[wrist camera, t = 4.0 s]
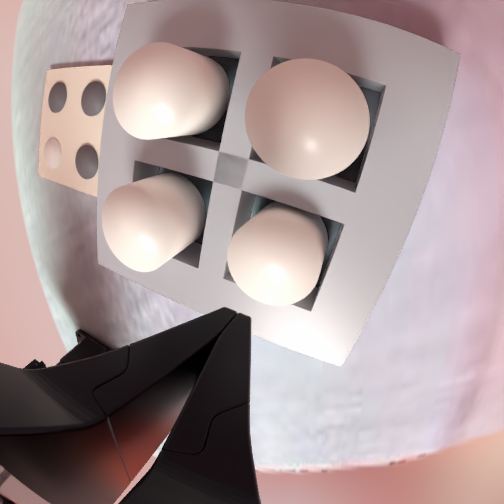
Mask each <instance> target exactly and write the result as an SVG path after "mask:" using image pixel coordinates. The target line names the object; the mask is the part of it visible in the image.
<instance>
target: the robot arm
mask: <svg viewBox="0 0 504 504" xmlns="http://www.w3.org/2000/svg"><path fill="white" fill-rule="evenodd" d="M251 322H252V319H251V317H250V316H248V315H245V314H243V313H237V311H235V310H233V309H230V308H228V307H222V308H220V309H217V310H215V311H213V312H210V313H208V314H205V315H203V316H200V317H198V318H195V319H193V320H191V321H188V322H186V323H183V324H181V325H178V326H176V327H173V328H171V329H168V330H165V331H163V332H160V333H158V334H155V335H153V336H150V337H148V338H145V339H142V340H140V341H137V342H134V343H132V344H130V347H129V345H126V346H124V347H121V348H118V349H115V350H111V349H109V348H108V347H106V346H105V345H103V344H101V343H100V342H98V341H97V340H95V339H94V338H92V337H91V336H89V335H88V334H86V333H85V332H83V331H82V330H80V329H78V330H77V331H76V337H77V342H78V344H77V345H76V346H75V347H74V348H73V349H72V350H70V351H69V352H68V353H67V354H66V355H65V356H63V357H62V358H61V359H60V362H59V363H58V364H57V365H55V366H52V367H46V365H45V364H44V362H43V361H41V362H40V363H39V362H38V361H37V360H35V359H34V360H33V361H32V362H31V363H29V364H28V365H27V366H26V367H25V368H23V369H21V368H16V367H13V366H10V365H7V364H3V363H0V504H113V503H114V502H115V501H116V500H117V499H118V498H119V496H120V495H121V494H122V493H123V491H124V490H125V489H126V488H127V487H128V485H129V484H130V483H131V482H130V481H132V480H133V479H134V478H135V476H136V475H137V474H138V472H139V471H140V470H141V469H142V467H143V466H144V465H145V464H146V463H147V461H148V460H149V459H150V457H151V456H152V455H153V454H154V452H155V451H156V450H157V448H158V447H159V446H160V444H161V443H162V442H163V441H164V439H165V438H166V437H167V435H168V434H169V433H170V434H169V436H168V438H167V440H166V441H165V443H164V445H163V447H162V451H161V452H160V453H159V455H158V457H157V459H156V460H155V462H154V464H153V465H152V467H151V469H150V470H149V471H148V472H147V473H146V474H145V475H144V476H143V477H142V479H141V480H140V481H139V482H138V483H137V484H136V485H135V486H134V487H133V488H132V490H131V491H130V492H129V493H128V494H127V495H126V496H125V497H124V498H123V499H122V500H121V502H120V503H119V504H261V501H260V497H259V491H258V485H257V479H256V473H255V467H254V460H253V454H252V446H251V437H250V404H249V403H250V370H251ZM170 431H171V432H170Z"/></svg>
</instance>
